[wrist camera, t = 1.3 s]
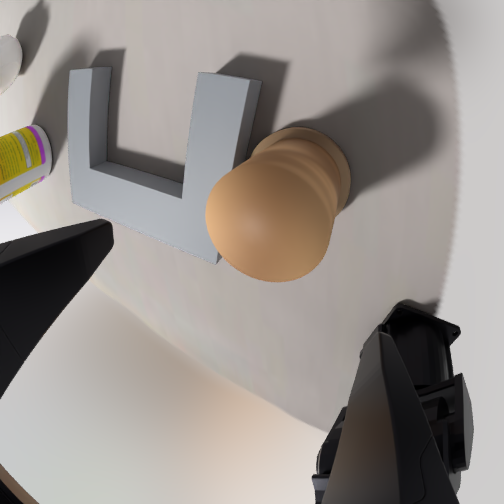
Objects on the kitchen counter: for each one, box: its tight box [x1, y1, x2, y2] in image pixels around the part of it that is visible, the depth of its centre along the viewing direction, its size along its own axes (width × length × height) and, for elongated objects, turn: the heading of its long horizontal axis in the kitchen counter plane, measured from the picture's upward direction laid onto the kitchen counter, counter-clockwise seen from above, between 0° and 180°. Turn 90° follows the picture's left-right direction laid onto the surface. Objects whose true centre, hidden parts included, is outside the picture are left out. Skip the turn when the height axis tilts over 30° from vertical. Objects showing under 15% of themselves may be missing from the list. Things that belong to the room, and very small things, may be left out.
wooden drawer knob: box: [205, 127, 351, 282], centre depth 14 cm, size 6×6×7 cm
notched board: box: [68, 67, 262, 265], centre depth 18 cm, size 15×12×2 cm
